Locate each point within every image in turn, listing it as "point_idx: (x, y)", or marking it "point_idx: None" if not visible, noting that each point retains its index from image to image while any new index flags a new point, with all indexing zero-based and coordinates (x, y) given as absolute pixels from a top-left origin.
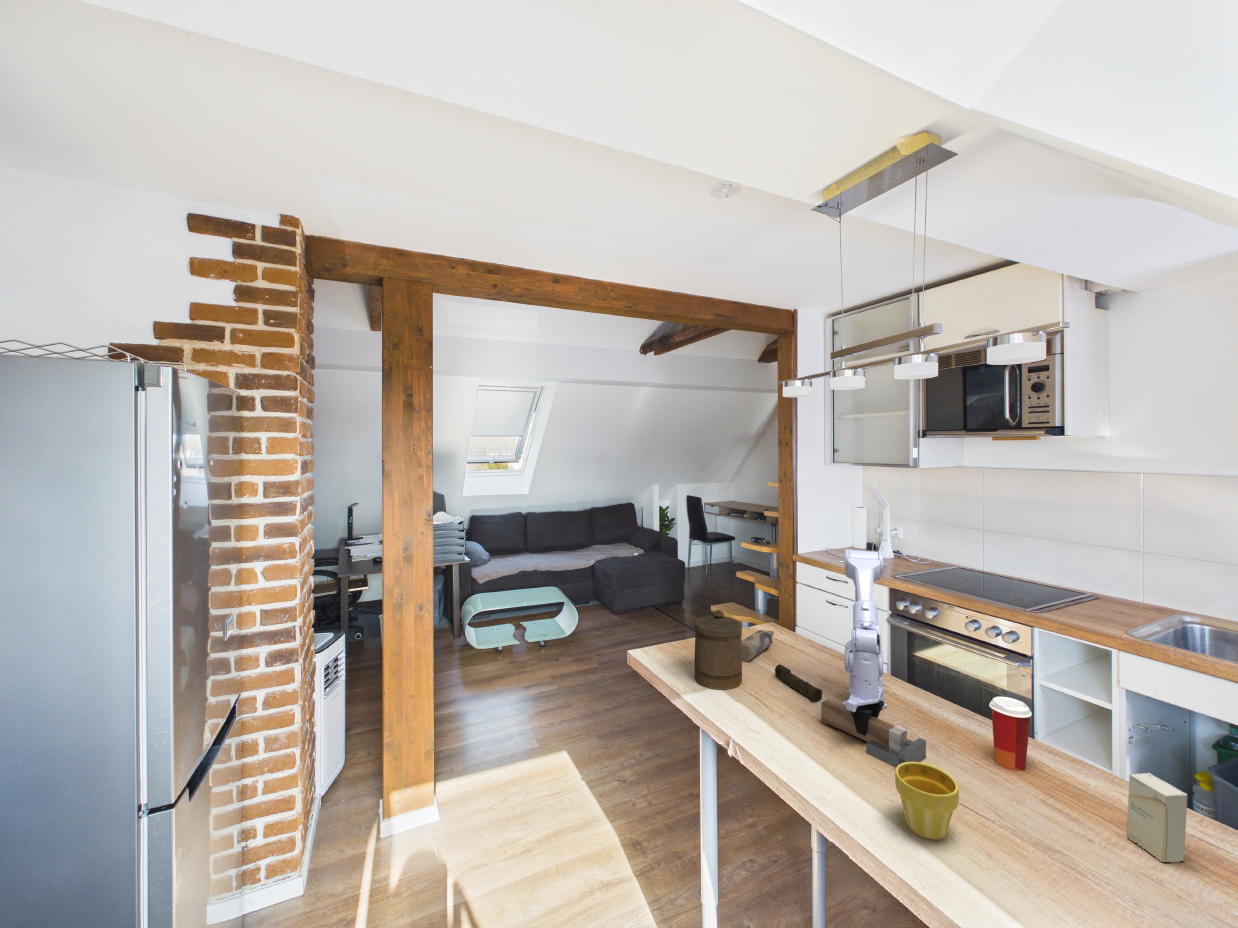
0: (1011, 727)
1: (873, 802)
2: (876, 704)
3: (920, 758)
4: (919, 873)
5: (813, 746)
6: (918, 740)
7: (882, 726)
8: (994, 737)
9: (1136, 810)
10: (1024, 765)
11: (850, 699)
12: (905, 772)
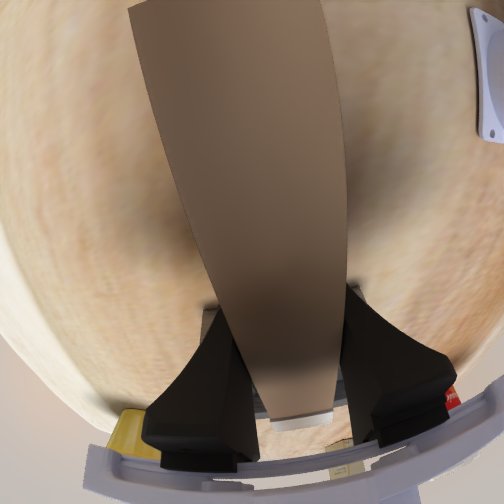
0: None
1: (96, 384)
2: (356, 441)
3: None
4: (96, 419)
5: (33, 210)
6: (341, 401)
7: (279, 405)
8: None
9: (342, 469)
10: None
11: (133, 496)
12: None
